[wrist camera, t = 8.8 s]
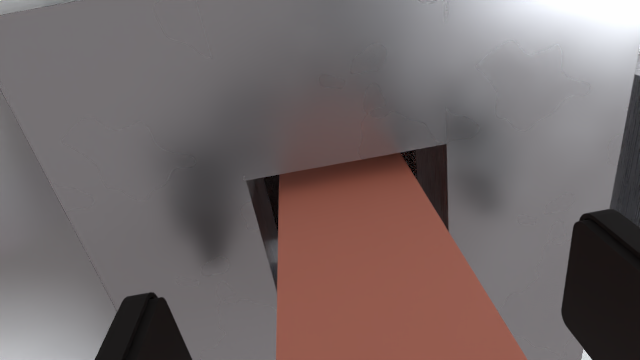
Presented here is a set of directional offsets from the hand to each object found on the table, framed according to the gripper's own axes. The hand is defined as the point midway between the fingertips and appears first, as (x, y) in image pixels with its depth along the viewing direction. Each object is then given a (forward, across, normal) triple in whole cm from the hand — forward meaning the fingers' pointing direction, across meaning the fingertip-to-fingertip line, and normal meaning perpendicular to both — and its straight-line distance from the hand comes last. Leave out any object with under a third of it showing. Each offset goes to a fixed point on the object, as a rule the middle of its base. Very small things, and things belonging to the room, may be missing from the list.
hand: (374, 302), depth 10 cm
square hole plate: (+5, 0, 0) cm, 5 cm away
